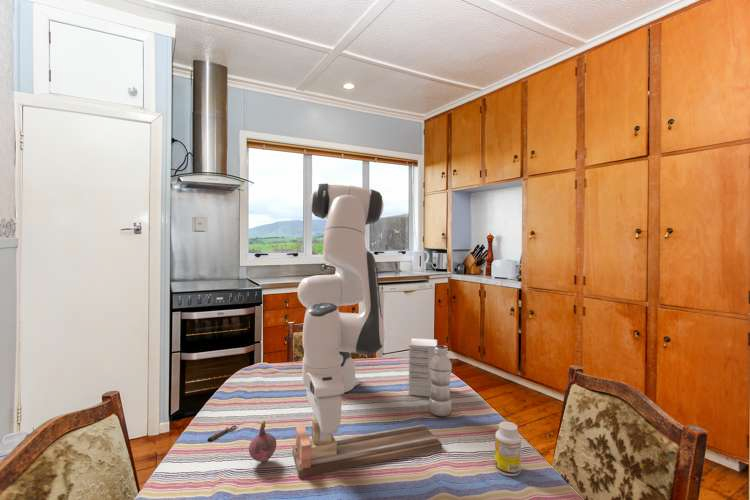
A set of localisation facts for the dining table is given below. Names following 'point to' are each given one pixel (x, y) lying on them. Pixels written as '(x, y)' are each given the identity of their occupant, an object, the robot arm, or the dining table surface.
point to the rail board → (364, 449)
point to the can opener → (221, 433)
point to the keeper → (321, 443)
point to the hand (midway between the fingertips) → (321, 433)
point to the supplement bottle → (508, 449)
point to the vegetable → (262, 445)
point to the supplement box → (420, 366)
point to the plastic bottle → (440, 382)
